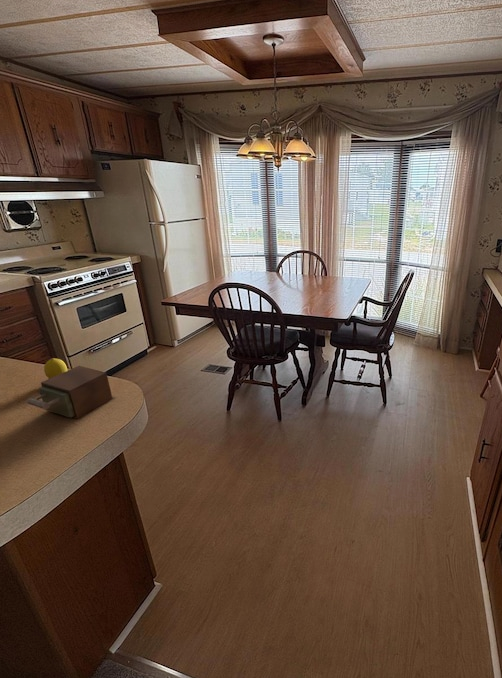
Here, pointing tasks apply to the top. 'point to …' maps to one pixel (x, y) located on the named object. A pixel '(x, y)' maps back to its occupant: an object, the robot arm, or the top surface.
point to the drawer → (53, 401)
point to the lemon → (54, 367)
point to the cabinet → (82, 388)
